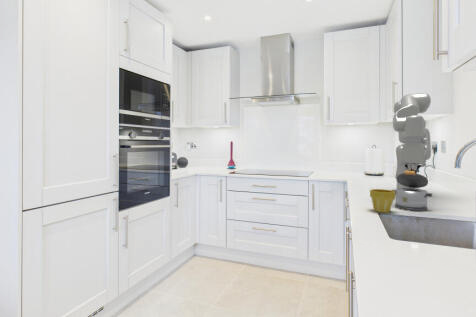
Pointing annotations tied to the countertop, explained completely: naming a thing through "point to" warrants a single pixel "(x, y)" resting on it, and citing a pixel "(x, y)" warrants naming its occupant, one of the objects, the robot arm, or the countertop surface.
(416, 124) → the robot arm
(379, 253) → the countertop surface
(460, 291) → the countertop surface
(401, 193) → the cooker
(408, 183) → the lid
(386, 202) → the plant pot
